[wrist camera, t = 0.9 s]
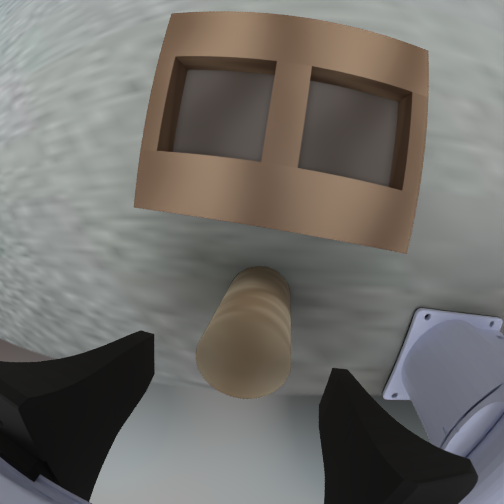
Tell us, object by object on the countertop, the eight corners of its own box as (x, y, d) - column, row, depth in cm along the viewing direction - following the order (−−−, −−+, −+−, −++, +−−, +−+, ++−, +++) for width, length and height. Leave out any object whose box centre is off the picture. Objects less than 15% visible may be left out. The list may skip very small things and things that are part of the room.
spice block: (407, 69, 15) (428, 50, 12) (386, 241, 18) (406, 253, 14) (188, 36, 16) (171, 13, 13) (158, 203, 19) (133, 207, 16)
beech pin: (295, 272, 19) (300, 330, 11) (283, 327, 20) (280, 405, 12) (233, 261, 19) (199, 311, 12) (226, 317, 20) (193, 388, 12)
